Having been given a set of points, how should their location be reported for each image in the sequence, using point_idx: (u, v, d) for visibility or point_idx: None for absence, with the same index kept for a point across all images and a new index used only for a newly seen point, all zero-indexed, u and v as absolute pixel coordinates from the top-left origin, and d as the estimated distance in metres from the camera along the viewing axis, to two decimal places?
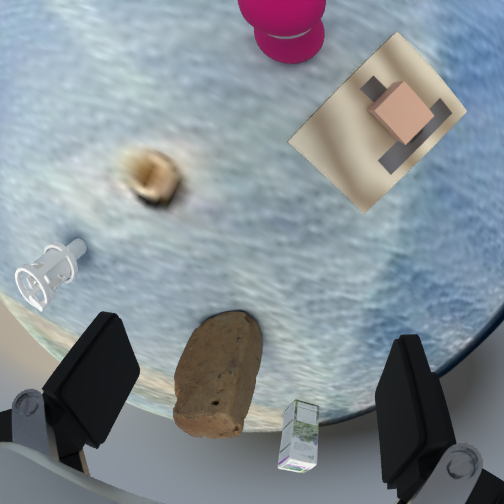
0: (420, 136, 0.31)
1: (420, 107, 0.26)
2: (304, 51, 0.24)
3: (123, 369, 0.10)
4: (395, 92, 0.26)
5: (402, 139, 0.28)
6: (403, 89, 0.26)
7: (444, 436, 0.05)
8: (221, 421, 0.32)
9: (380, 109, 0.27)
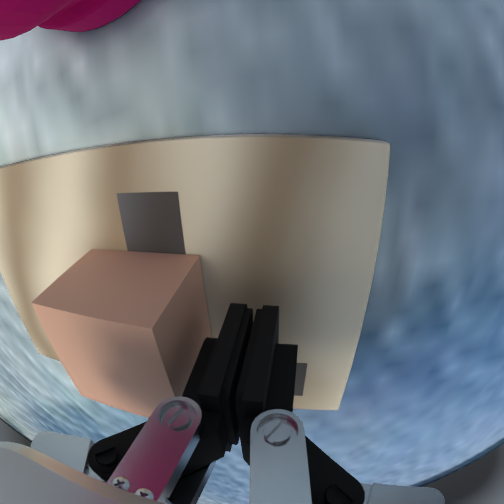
0: None
1: (156, 396, 0.09)
2: None
3: None
4: (102, 323, 0.08)
5: (78, 386, 0.10)
6: (133, 341, 0.08)
7: (259, 396, 0.07)
8: None
9: (45, 314, 0.08)
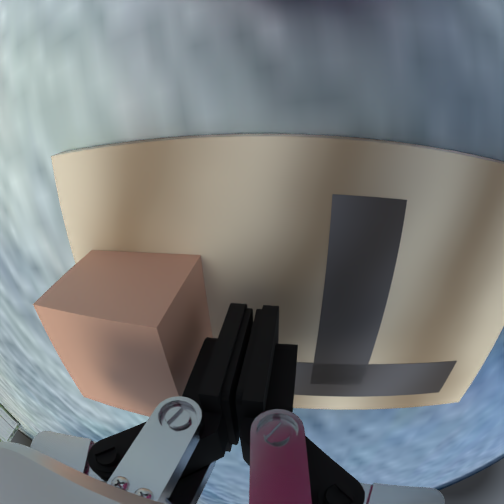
0: (340, 386, 0.13)
1: (159, 396, 0.09)
2: None
3: None
4: (106, 324, 0.08)
5: (80, 387, 0.10)
6: (137, 341, 0.08)
7: (259, 396, 0.07)
8: None
9: (48, 315, 0.08)
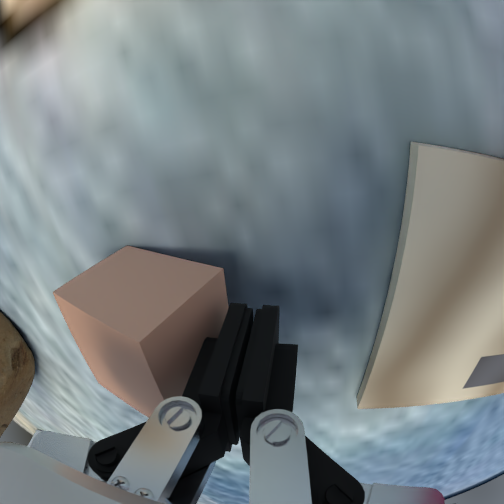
0: None
1: (153, 403, 0.09)
2: None
3: None
4: (102, 326, 0.08)
5: (95, 374, 0.11)
6: (127, 349, 0.08)
7: (259, 396, 0.07)
8: None
9: (63, 305, 0.09)
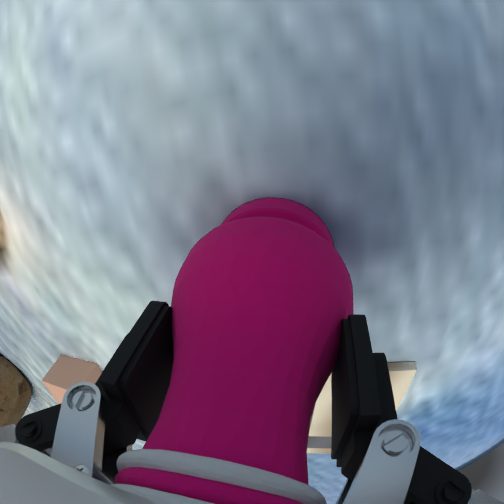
0: None
1: None
2: None
3: (172, 359, 0.10)
4: (64, 390, 0.21)
5: None
6: None
7: (377, 409, 0.06)
8: None
9: (47, 384, 0.22)
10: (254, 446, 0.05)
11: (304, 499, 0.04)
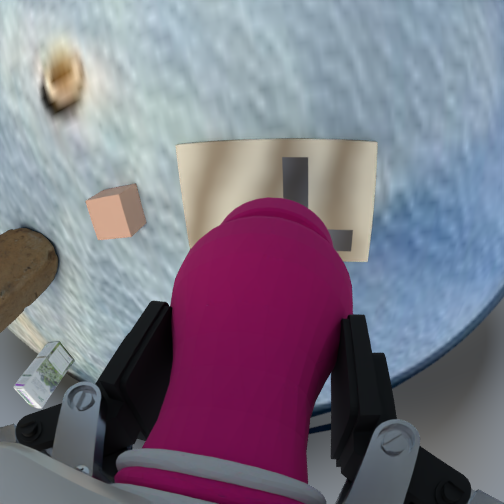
0: None
1: (121, 223, 0.32)
2: None
3: (172, 359, 0.10)
4: (107, 198, 0.30)
5: (97, 234, 0.33)
6: (114, 200, 0.31)
7: (376, 409, 0.06)
8: None
9: (90, 202, 0.31)
10: (254, 445, 0.05)
11: (304, 498, 0.04)
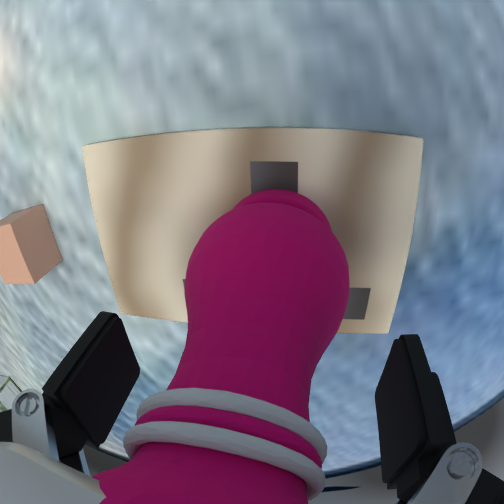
0: None
1: (20, 264, 0.18)
2: None
3: (123, 369, 0.10)
4: (0, 228, 0.17)
5: (2, 276, 0.20)
6: (8, 232, 0.17)
7: (444, 436, 0.05)
8: None
9: None
10: (261, 386, 0.06)
11: (306, 434, 0.06)
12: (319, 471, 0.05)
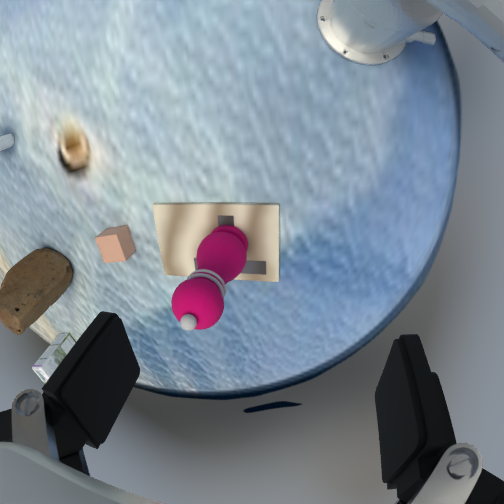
0: None
1: (119, 252, 0.49)
2: None
3: (123, 369, 0.10)
4: (109, 236, 0.48)
5: (103, 259, 0.51)
6: (114, 238, 0.48)
7: (444, 436, 0.05)
8: (13, 322, 0.41)
9: (98, 239, 0.49)
10: (212, 270, 0.37)
11: (219, 278, 0.36)
12: (221, 284, 0.36)
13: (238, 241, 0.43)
